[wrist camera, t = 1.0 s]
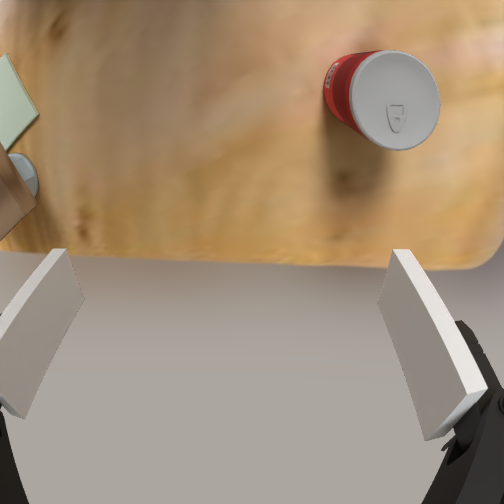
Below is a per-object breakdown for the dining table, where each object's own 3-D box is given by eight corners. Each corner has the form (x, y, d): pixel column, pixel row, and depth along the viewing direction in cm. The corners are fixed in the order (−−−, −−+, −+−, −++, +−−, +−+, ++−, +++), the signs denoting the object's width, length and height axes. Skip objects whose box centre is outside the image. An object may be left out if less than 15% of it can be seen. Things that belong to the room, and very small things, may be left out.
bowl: (-6, 172, 33) (-25, 184, 29) (19, 141, 31) (-2, 152, 27) (20, 212, 37) (2, 227, 33) (47, 186, 35) (28, 200, 31)
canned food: (335, 133, 31) (367, 163, 22) (310, 64, 28) (335, 61, 18) (398, 116, 30) (449, 139, 21) (377, 47, 26) (427, 43, 17)
